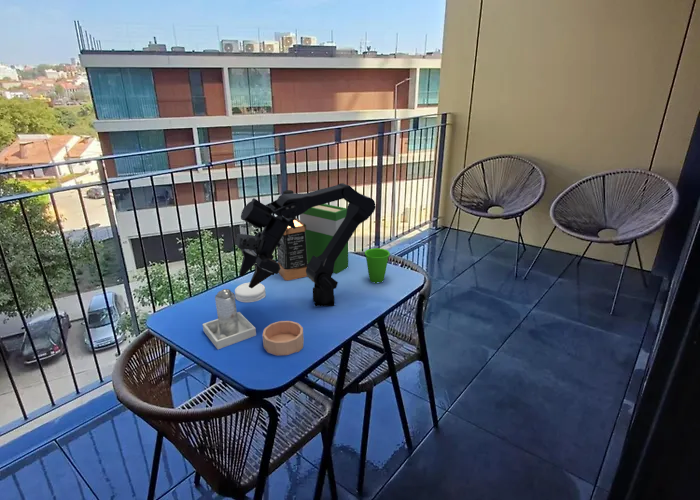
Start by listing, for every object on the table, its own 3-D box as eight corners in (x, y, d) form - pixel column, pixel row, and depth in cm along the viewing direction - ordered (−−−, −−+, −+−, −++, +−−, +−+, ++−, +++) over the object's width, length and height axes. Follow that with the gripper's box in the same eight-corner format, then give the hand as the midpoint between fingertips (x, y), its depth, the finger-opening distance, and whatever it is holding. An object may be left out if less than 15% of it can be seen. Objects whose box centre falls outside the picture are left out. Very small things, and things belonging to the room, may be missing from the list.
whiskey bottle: (276, 271, 159) (270, 189, 147) (300, 266, 163) (296, 186, 152) (285, 281, 151) (279, 195, 139) (310, 275, 155) (307, 192, 143)
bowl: (304, 333, 119) (303, 320, 117) (302, 356, 109) (301, 341, 107) (267, 335, 118) (265, 321, 116) (261, 357, 108) (260, 343, 107)
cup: (393, 278, 152) (394, 251, 148) (381, 288, 145) (382, 259, 141) (372, 273, 157) (372, 246, 153) (359, 282, 150) (359, 254, 146)
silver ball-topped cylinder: (240, 327, 121) (235, 284, 115) (237, 338, 116) (231, 293, 111) (222, 328, 120) (216, 285, 115) (218, 338, 116) (211, 294, 110)
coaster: (230, 296, 141) (229, 286, 139) (257, 287, 146) (256, 279, 145) (243, 307, 133) (242, 298, 132) (270, 298, 139) (270, 289, 138)
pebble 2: (228, 339, 115) (227, 332, 114) (226, 344, 113) (225, 337, 112) (219, 340, 115) (218, 332, 114) (217, 345, 113) (216, 337, 112)
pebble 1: (219, 329, 120) (218, 322, 119) (217, 334, 118) (216, 326, 117) (211, 329, 120) (209, 322, 119) (208, 334, 117) (207, 327, 117)
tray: (240, 320, 126) (239, 311, 124) (256, 337, 117) (255, 327, 116) (203, 332, 119) (202, 323, 118) (217, 351, 111) (216, 341, 110)
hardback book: (302, 263, 166) (299, 205, 157) (314, 257, 172) (312, 201, 163) (336, 273, 156) (335, 213, 148) (348, 267, 162) (347, 208, 153)
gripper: (238, 214, 122) (212, 260, 122) (258, 232, 107) (229, 284, 107) (269, 230, 128) (244, 273, 129) (292, 249, 113) (264, 298, 114)
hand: (245, 281), depth 120 cm, fingers open, 9 cm apart
